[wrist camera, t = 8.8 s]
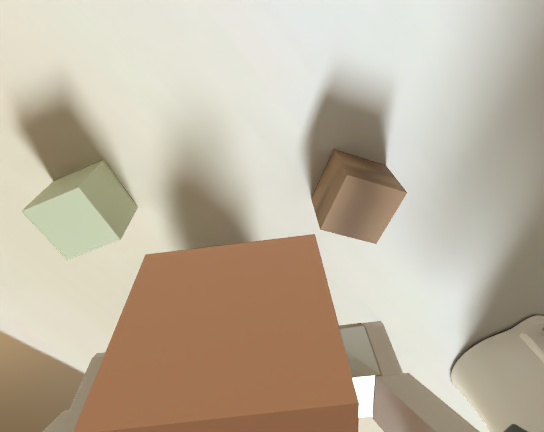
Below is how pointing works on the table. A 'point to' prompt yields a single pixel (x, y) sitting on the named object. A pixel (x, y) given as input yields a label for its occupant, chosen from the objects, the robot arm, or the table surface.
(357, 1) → the table surface
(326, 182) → the walnut cube
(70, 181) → the sage cube
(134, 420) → the terracotta cube
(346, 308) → the table surface
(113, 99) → the table surface
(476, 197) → the table surface
